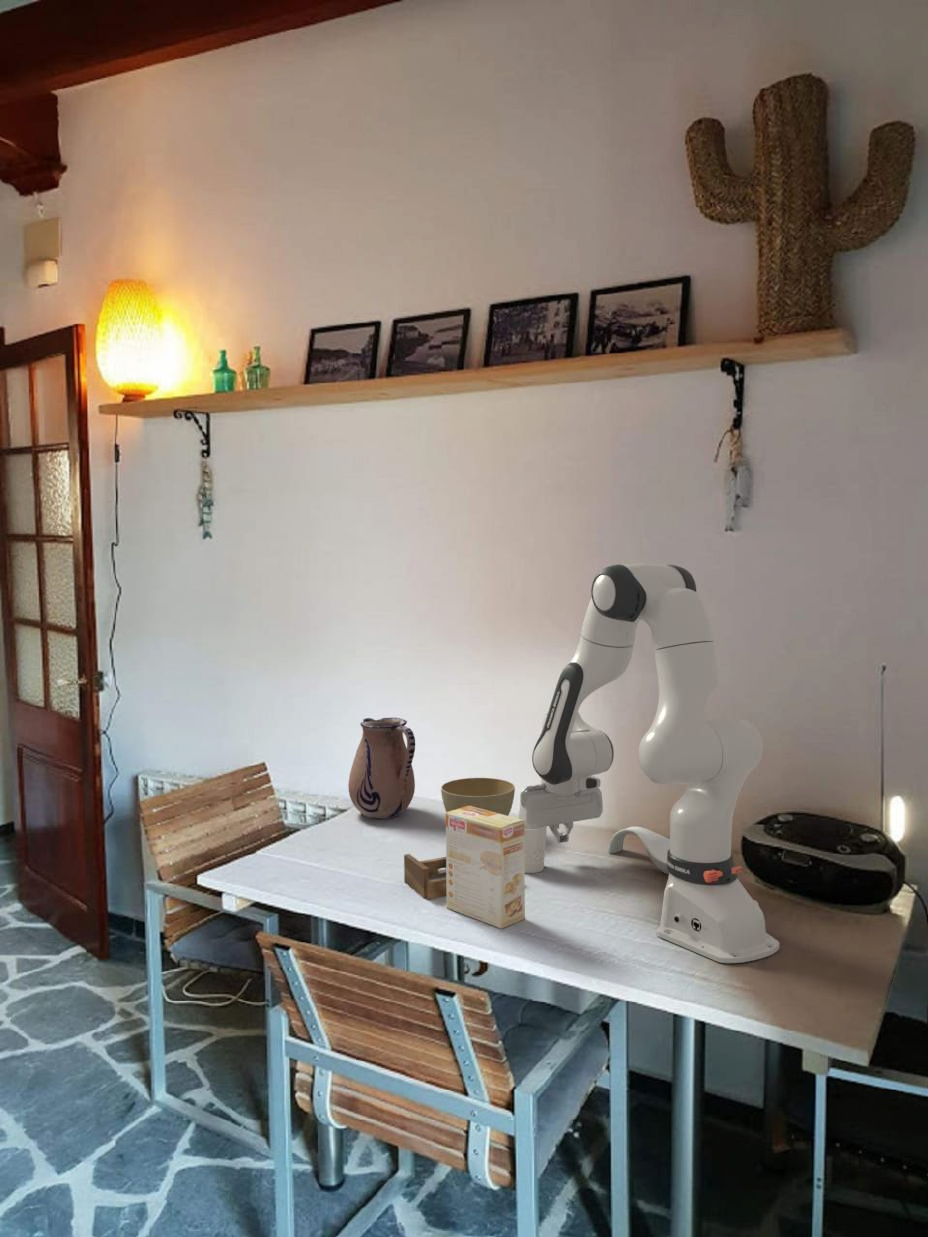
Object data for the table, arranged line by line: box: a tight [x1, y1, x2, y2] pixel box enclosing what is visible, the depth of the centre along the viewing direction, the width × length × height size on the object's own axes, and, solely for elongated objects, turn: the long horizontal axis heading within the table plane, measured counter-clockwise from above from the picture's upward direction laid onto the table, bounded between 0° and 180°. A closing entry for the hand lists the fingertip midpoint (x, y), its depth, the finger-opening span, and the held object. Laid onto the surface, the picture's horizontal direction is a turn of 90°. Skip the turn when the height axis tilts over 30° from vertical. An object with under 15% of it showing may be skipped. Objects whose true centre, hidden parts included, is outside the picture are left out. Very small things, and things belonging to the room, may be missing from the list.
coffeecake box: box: [445, 806, 526, 930], centre depth 183 cm, size 15×7×20 cm, turn 45°
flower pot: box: [440, 777, 516, 816], centre depth 232 cm, size 18×18×12 cm
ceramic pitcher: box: [347, 717, 416, 820], centre depth 248 cm, size 18×21×25 cm
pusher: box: [438, 868, 446, 874], centre depth 200 cm, size 5×9×5 cm, turn 27°
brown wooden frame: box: [403, 853, 447, 901], centre depth 201 cm, size 21×12×6 cm, turn 117°
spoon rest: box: [607, 826, 670, 875], centre depth 210 cm, size 24×12×7 cm, turn 42°
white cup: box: [524, 824, 548, 874], centre depth 208 cm, size 8×8×10 cm
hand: (561, 842), depth 212 cm, fingers closed
